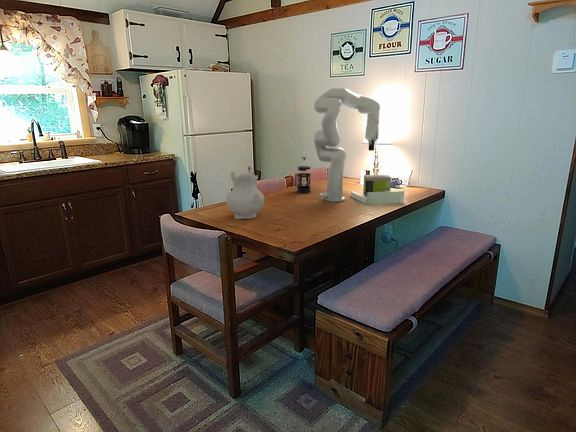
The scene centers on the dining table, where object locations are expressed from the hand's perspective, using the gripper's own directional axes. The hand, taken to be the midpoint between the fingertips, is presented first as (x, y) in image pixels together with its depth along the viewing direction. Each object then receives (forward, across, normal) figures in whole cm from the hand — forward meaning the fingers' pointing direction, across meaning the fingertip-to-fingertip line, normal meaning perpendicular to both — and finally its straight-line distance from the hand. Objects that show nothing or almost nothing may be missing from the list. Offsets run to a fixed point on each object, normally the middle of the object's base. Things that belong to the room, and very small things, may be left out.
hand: (371, 150), depth 251 cm
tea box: (+27, +25, -8) cm, 38 cm away
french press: (+27, -8, -44) cm, 52 cm away
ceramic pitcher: (+27, +40, -90) cm, 102 cm away
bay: (+27, +24, -7) cm, 37 cm away
